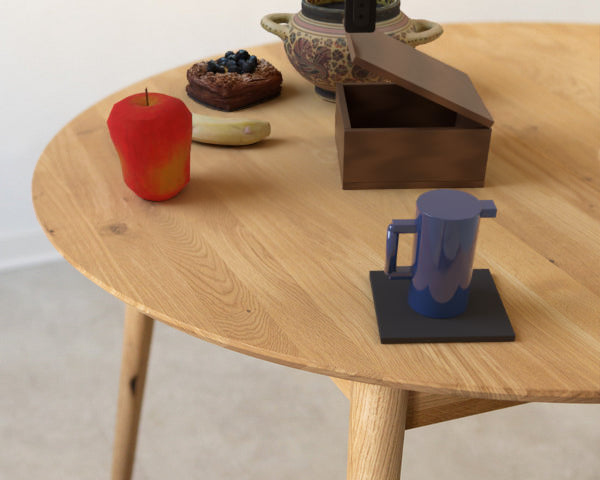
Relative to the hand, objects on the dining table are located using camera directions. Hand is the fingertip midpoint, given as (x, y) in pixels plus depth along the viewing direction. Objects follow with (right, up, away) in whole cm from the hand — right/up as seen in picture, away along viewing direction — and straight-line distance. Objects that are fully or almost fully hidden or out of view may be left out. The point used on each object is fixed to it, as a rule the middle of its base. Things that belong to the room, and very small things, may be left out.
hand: (359, 30), depth 83 cm
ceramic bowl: (0, 0, +27) cm, 27 cm away
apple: (-22, -17, +3) cm, 28 cm away
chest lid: (+6, -4, +3) cm, 8 cm away
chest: (+6, -12, +9) cm, 16 cm away
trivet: (+6, -29, -15) cm, 34 cm away
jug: (+6, -29, -16) cm, 33 cm away
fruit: (-17, -8, +15) cm, 24 cm away
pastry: (-16, 0, +27) cm, 31 cm away
